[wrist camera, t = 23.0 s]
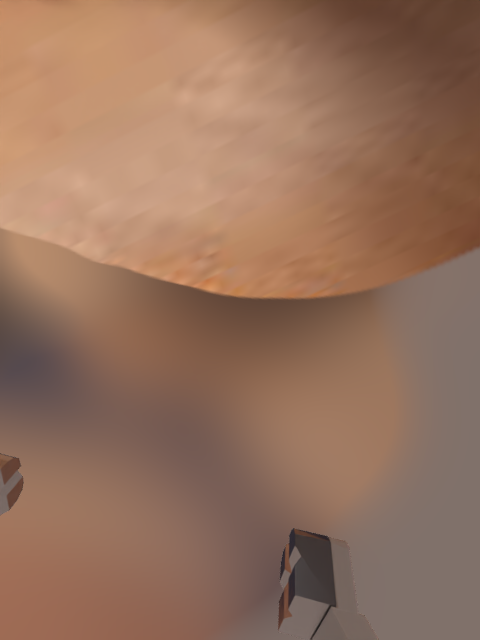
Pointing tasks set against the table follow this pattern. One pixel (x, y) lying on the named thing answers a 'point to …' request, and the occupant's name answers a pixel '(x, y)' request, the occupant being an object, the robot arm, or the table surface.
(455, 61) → the table surface
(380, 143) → the table surface
